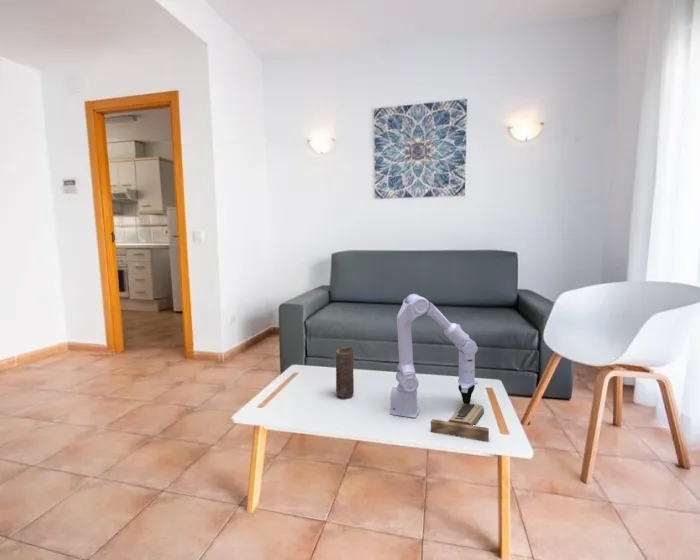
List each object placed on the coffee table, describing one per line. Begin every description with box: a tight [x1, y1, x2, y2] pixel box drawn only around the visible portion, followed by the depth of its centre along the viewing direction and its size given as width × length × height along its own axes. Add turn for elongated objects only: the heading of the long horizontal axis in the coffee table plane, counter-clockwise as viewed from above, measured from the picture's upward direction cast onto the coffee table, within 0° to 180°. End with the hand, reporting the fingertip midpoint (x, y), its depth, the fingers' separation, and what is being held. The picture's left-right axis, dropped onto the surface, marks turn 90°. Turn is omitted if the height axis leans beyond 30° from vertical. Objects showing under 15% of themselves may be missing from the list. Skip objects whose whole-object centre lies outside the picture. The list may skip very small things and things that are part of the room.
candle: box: [335, 346, 355, 399], centre depth 155 cm, size 8×7×20 cm
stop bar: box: [430, 418, 490, 442], centre depth 122 cm, size 18×2×4 cm, turn 67°
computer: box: [447, 403, 485, 426], centre depth 133 cm, size 16×8×3 cm, turn 146°
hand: (466, 404), depth 142 cm, fingers closed
